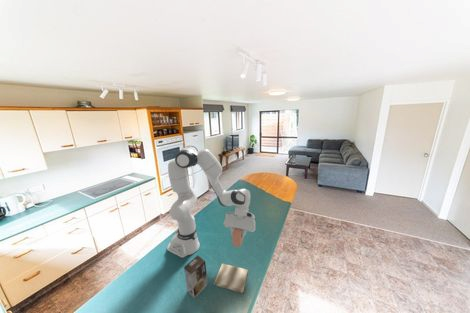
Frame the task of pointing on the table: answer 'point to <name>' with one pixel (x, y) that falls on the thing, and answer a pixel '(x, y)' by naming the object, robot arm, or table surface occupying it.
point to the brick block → (237, 237)
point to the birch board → (231, 277)
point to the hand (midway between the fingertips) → (237, 236)
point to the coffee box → (196, 276)
